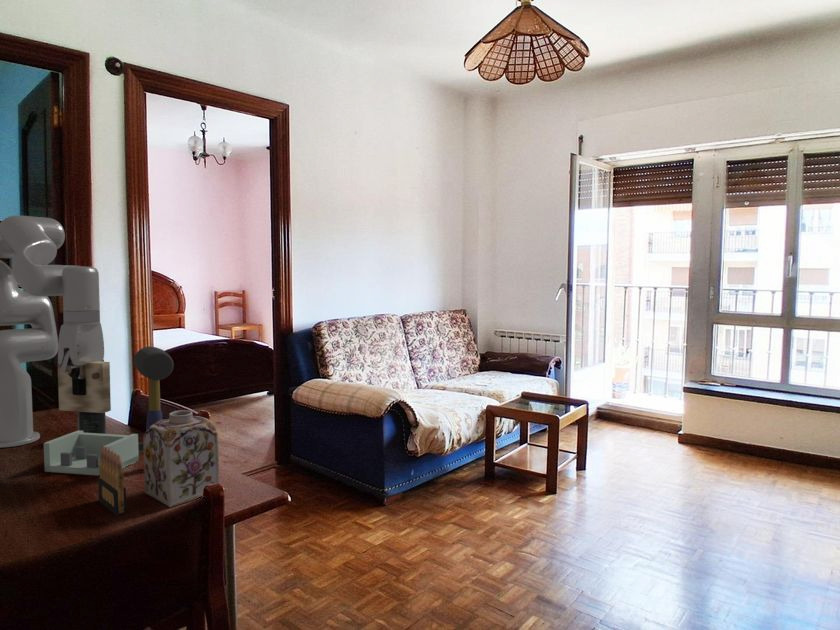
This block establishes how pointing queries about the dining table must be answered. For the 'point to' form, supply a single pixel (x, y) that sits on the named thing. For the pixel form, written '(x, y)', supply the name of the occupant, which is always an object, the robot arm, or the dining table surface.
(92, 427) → the supplement bottle
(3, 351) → the robot arm
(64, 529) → the dining table surface
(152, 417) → the rubber mallet
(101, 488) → the ammunition clip
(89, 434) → the cabinet
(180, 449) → the decorative jar
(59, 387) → the wooden block
